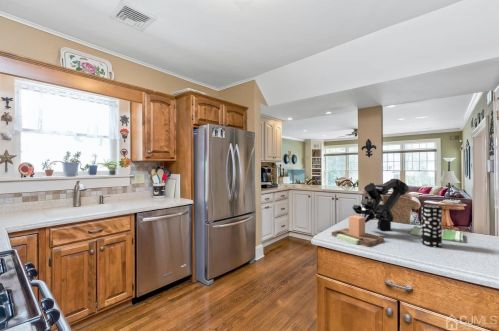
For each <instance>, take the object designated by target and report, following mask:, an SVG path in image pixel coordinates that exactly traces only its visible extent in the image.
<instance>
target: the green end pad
mask: <svg viewBox="0 0 499 331" xmlns="http://www.w3.org/2000/svg"><path fill="white" fill-rule="evenodd" d="M336 239H338V240H340V241H344V242H346V243H350V244H353V245H359V244H358V240H359V239H355V238H352V237H349V236H345V235H342V234H338V235H337V237H336Z"/></svg>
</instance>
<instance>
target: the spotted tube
mask: <svg viewBox="0 0 499 331" xmlns="http://www.w3.org/2000/svg"><path fill="white" fill-rule="evenodd" d="M442 220H443V208H442V206H440V205H435V204H422V205H421V227H420V228H421V236H420V237H421V240H420V242H421V245H423V246H426V247H430V248H437V249H438V248H441V247H442V243H443V242H442V241H443V240H442V230H443V221H442Z"/></svg>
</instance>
